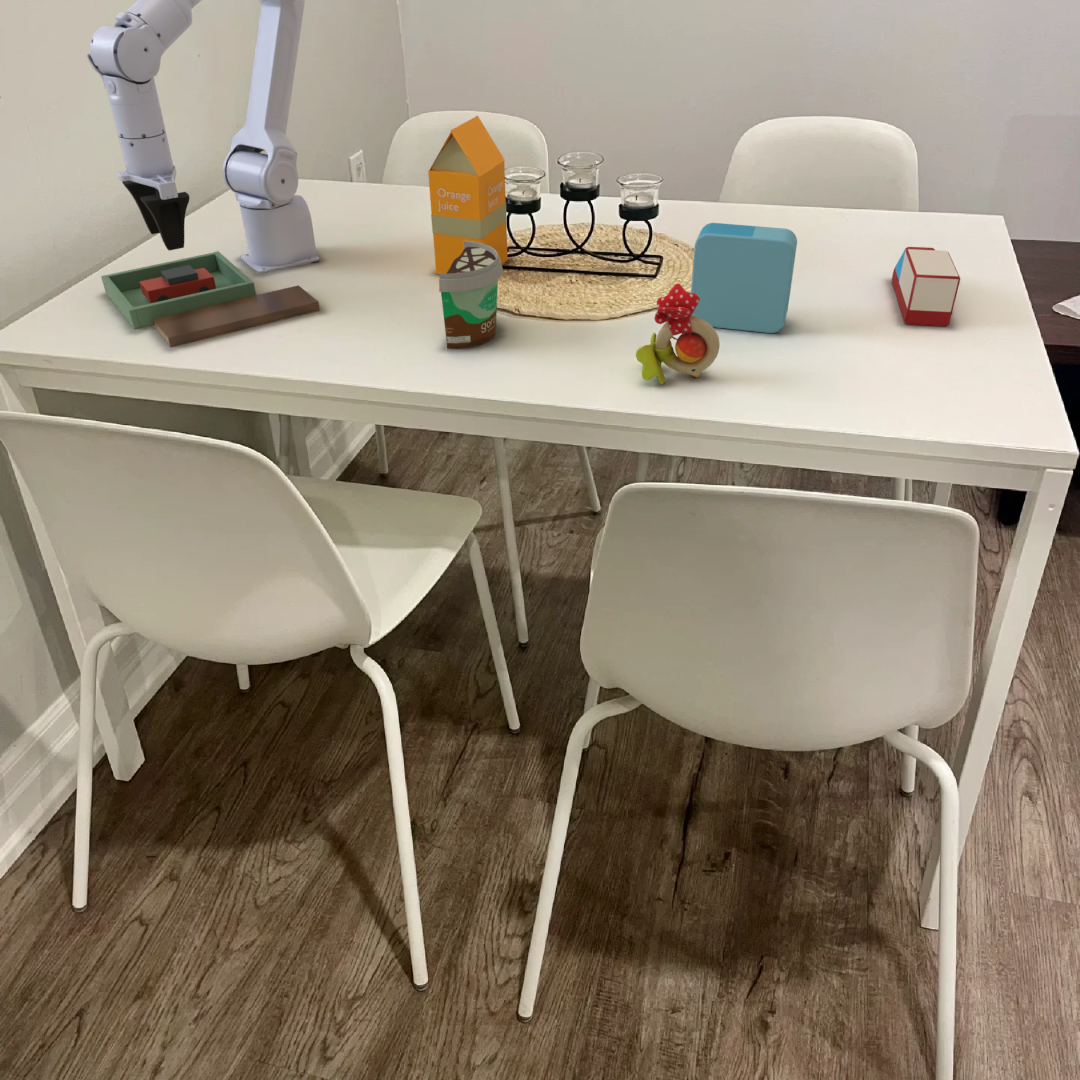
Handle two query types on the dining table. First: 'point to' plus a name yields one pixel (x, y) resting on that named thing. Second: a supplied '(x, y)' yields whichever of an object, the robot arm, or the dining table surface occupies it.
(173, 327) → the board
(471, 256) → the food container
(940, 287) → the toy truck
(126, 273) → the tray
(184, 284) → the toy car
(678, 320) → the bird rattle
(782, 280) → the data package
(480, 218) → the orange juice
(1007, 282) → the dining table surface
